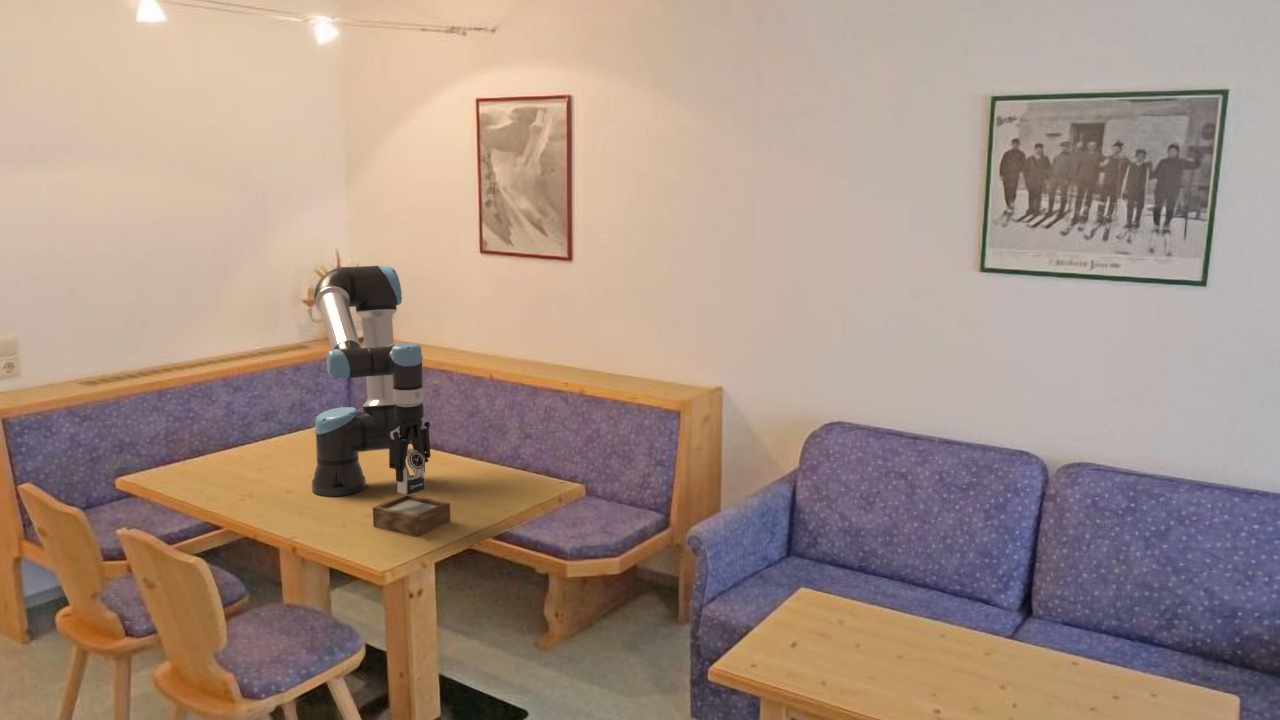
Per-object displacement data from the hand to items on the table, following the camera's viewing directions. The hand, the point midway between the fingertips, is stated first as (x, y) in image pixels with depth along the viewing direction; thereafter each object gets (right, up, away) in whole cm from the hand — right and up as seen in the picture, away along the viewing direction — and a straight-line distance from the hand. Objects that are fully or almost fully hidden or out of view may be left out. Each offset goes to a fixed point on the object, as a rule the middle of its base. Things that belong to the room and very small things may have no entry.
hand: (411, 489), depth 262 cm
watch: (0, 0, 0) cm, 1 cm away
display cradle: (0, -9, +2) cm, 10 cm away
